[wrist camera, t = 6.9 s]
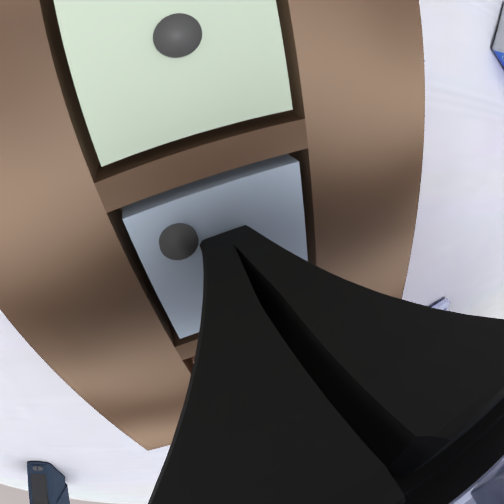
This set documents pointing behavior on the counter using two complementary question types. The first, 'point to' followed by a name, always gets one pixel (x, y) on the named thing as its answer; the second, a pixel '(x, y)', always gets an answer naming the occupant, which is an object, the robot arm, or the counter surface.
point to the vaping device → (46, 484)
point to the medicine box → (499, 40)
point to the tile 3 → (213, 227)
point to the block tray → (189, 170)
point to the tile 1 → (171, 68)
